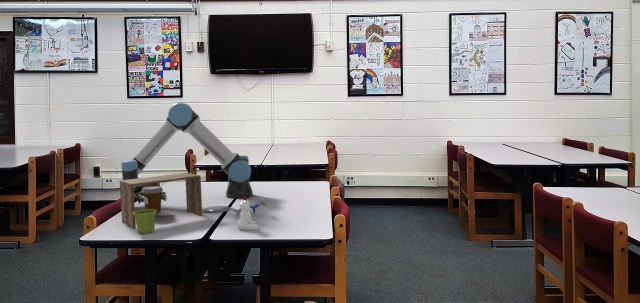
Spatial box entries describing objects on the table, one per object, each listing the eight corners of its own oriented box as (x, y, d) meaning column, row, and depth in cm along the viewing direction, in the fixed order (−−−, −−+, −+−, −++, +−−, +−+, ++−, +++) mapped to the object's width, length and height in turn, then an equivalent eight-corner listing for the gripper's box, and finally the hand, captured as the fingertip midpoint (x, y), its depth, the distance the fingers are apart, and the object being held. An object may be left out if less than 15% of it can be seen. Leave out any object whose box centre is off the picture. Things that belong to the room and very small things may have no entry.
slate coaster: (231, 205, 237) (231, 205, 237) (231, 211, 224) (231, 211, 224) (203, 207, 235) (203, 206, 235) (201, 213, 221) (201, 213, 221)
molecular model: (267, 212, 220) (264, 192, 221) (271, 213, 212) (268, 191, 213) (230, 220, 214) (227, 199, 214) (233, 220, 206) (229, 198, 207)
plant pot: (136, 236, 183) (135, 215, 182) (131, 231, 191) (130, 210, 190) (160, 232, 188) (159, 212, 187) (155, 227, 196) (154, 207, 195)
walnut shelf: (122, 222, 206) (119, 180, 204) (188, 210, 227) (187, 172, 226) (133, 228, 196) (130, 184, 194) (202, 215, 217) (200, 175, 215)
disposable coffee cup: (157, 215, 213) (155, 189, 212) (138, 214, 215) (137, 189, 214) (167, 210, 222) (166, 186, 221) (149, 210, 224) (148, 185, 223)
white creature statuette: (260, 230, 189) (259, 201, 188) (239, 232, 186) (238, 203, 185) (255, 225, 198) (254, 197, 196) (235, 227, 195) (234, 199, 194)
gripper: (158, 197, 238) (178, 203, 222) (116, 203, 224) (134, 210, 208) (158, 183, 238) (177, 188, 221) (116, 188, 224) (133, 194, 207)
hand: (156, 199), depth 214 cm, fingers closed on disposable coffee cup, 8 cm apart
